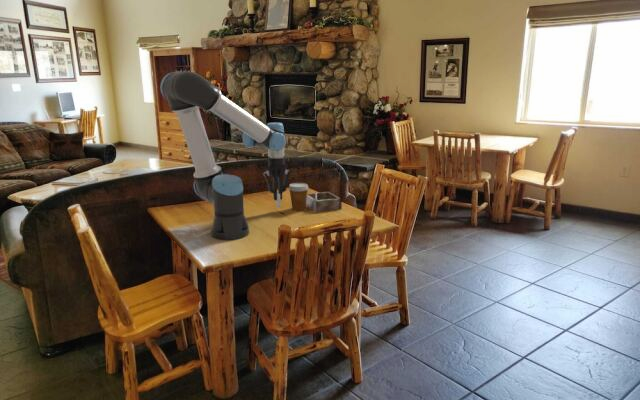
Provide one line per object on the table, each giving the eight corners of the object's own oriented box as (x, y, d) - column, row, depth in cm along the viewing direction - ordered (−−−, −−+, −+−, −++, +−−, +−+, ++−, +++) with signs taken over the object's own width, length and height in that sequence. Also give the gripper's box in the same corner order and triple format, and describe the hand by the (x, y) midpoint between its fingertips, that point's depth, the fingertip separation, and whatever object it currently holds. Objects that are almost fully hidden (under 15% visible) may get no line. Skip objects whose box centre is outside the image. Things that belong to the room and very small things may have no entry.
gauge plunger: (313, 211, 213) (313, 192, 211) (305, 205, 223) (305, 187, 221) (324, 209, 215) (324, 191, 213) (316, 204, 225) (316, 186, 223)
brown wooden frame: (317, 211, 212) (317, 201, 211) (305, 203, 226) (305, 193, 224) (341, 209, 217) (341, 198, 215) (328, 201, 230) (328, 191, 229)
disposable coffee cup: (312, 208, 218) (312, 184, 215) (301, 213, 210) (301, 188, 207) (296, 205, 223) (296, 181, 220) (285, 210, 215) (284, 185, 212)
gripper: (264, 159, 200) (267, 210, 206) (292, 157, 205) (293, 206, 211) (260, 156, 207) (262, 206, 213) (287, 154, 211) (288, 202, 218)
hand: (278, 206), depth 212 cm, fingers closed
